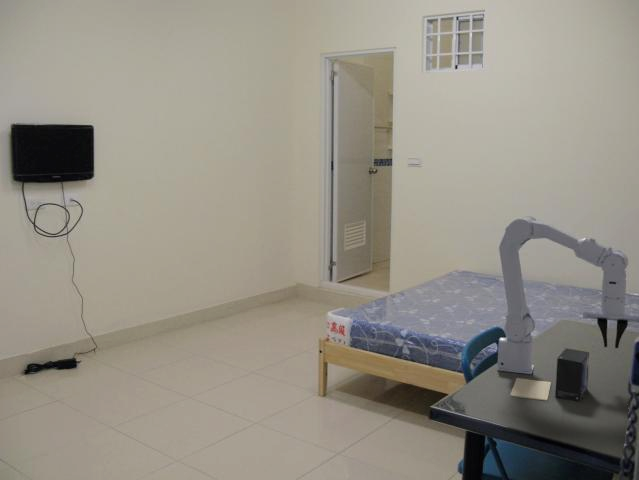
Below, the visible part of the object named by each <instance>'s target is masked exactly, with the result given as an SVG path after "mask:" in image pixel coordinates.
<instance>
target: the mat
mask: <svg viewBox="0 0 639 480" xmlns="http://www.w3.org/2000/svg"><path fill="white" fill-rule="evenodd" d="M551 386H552V382H551V381H545V380H535V379H526V378H519V377H516V378H515V382H514V384H513V387H512V389H511V392H510V395H509V396H510V397H514V398H522V399H528V400H537V401H543V402H544V401H545V402H548V400H549V395H550V391H551Z"/></svg>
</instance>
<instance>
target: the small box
mask: <svg viewBox="0 0 639 480" xmlns="http://www.w3.org/2000/svg"><path fill="white" fill-rule="evenodd" d="M589 364H590V352H589V351H585V350H580V349H573V348H568V347H567V348H566V347H565V349H564V350H562V352H561V353H560V354H559V355H558V356H557V358H556V372H555V373H556V375H555V376H556V377H555V379H556V380H555V390H554V392H555V393H554V397H555V398H560V399H564V400H571V401H576V402H580V401H581V400H582V398H584V395H585V394H586V392H587V391H588V384H589V367H590V365H589Z"/></svg>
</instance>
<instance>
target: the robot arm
mask: <svg viewBox="0 0 639 480" xmlns="http://www.w3.org/2000/svg"><path fill="white" fill-rule="evenodd" d="M504 231H505V232H504V234H503V237H502V239H501V241H500V243H499V247H498V248H499V249H498V251H499V256H500V262H501V269H502V270H501V272H502V277H503V278H502V279H503V284H504V290H505V296H506V297H505V299H506V304H507V310H506V314H505V320H506V322H505V325H504V328H503V329H504V334H505V336H506V337H499V339H498V346H497V349H498V350H497V371H501V372H502V371H503V372H510V373H516V374H525V375H532V373H533V371H534V368H535V365H534V364H532V363H533V341H534V340H533V339H534V338H533V337H532V334H531V333H532V332H533V331H534V330H535V327H536V323H535V320H534V318H533V317H532V315H531V313H530V308H529V307H528V305H527V303H526V302H527V301H526V295H525V294H526V293H525V289H524V281H523V280H524V279H523V275H522V269H521V268H522V267H521V261H520V254H519V251H520V249H521V248H522V247H523V246H524V245H525V244H526V243H527V242H529V241H531V240H537V239H538V240H540V239H547V240H549V241H552V242H554V243H557V244H559V245H561V246H563V247H566V248H568V249H570V250H573V252H574V254H575V257H577V258H578V259H581V260H583V261H585V262H587V263H589V264H591V265H593V266H596V267H597V268H601V270H602V271H603V274H602V275H603V277H602V280H601V281H602V284H601V285H602V286H601V305H600V310H598V309H597V310H589V309H588V310H587V309H583V311H582V319H585V320H587V319H591V320H592V319H593V320H597V325H598V328H599V329H600V332H601V336H602V339H603V347H604V348H608V338H607V337H608V321H616V334H615V335H616V336H615V340H614V341H615V342H614V343H615V344H614V346H615V349H619V345H620V341H621V338H622V336H623V335H624V333H625V331H626V329H627V328H628V325H629V324H628V322H629V323H638V324H639V314H638V313H633V312H626V295H627V294H626V293H627V292H626V291H627V280H626V278H627V271H626V269H627V268H628V265H629V259H628V256H627V255H626V254H625V253H624V252H622V251H621V250H618V249H615V250H614V248H613V247H612V246H609V247H607V246H605V245H604V244H602V243H599V242H597V239H596V238H594V237H590V238H588V237H584V238H581V239H580V238H577V237H575V236H574V235H572V234H569V233H567V232H565V231H563V230H561V229H559V228H558V227H556V226H554V225H552V224H550V223H548V222H546V221H544V220H541V219H536V218H535V217H534V216H524V217H521V218H516V219H515V220H512V222H511V223H509V224H508V226H507V227H506V228H505V229H504Z"/></svg>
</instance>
